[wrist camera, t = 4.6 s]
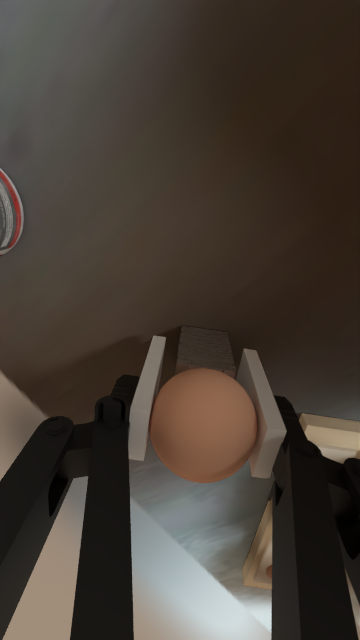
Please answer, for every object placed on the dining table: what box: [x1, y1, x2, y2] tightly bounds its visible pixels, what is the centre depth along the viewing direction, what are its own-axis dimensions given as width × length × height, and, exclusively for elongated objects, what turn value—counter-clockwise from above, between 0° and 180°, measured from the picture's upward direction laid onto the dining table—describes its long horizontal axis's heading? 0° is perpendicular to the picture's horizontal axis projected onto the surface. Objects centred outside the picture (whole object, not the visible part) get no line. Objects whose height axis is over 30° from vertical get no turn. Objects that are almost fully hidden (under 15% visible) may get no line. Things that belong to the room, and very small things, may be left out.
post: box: [174, 326, 236, 379], centre depth 17 cm, size 3×3×5 cm
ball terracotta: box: [149, 368, 257, 483], centre depth 13 cm, size 5×5×5 cm
